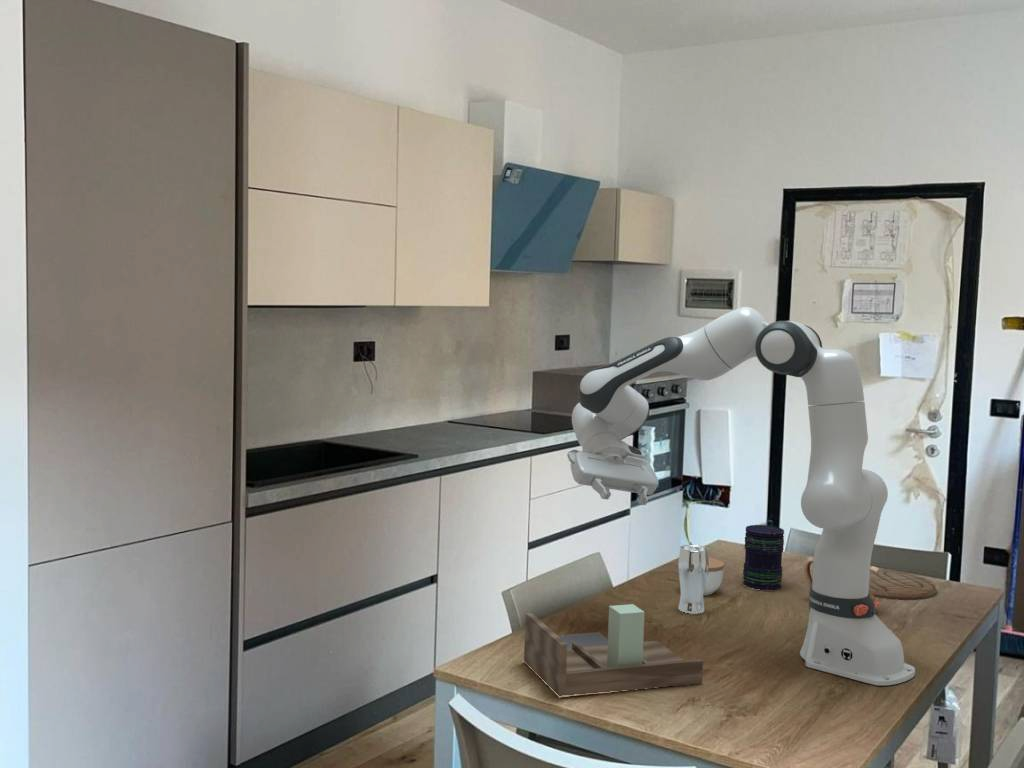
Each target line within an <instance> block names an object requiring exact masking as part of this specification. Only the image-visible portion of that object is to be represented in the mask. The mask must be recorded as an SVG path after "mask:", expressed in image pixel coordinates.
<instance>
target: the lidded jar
mask: <svg viewBox="0 0 1024 768" xmlns="http://www.w3.org/2000/svg"><path fill="white" fill-rule="evenodd" d="M708 559H709V565H708V575H707V580H706V585H705V589H704V595H703V596H709V595H708V594H712V593H713V594H714V592H716V591H717V590H718V589H719V587H720V586H721V584H722V581H723V577H724V569H725V562H723V561H722V560H720V559H716V558H712V557H708ZM713 594H712V595H713Z"/></svg>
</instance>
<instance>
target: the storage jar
mask: <svg viewBox="0 0 1024 768" xmlns="http://www.w3.org/2000/svg"><path fill="white" fill-rule="evenodd" d="M784 534H785V530H784V529H783V528H781V527H779V526H773V525H767V524H765V525H764V524H750V525H747V526H745V537H744V546H743V547H744V550H745V555H744V563H743V569H742V576H743V577H742V578H743V581H742V585H743V584H744V585H746V586H747V587H750V588H754V589H760V590H777V589H780V588H781V589H782V584H781V583H782V580H783V566H782V561H783V560H782V557H783V553H784V550H785V548H784V545H785V538H784V537H785V536H784ZM744 585H743V586H744ZM747 587H746V588H747ZM781 589H780V590H781ZM777 591H778V590H777Z"/></svg>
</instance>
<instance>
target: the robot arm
mask: <svg viewBox="0 0 1024 768" xmlns="http://www.w3.org/2000/svg"><path fill="white" fill-rule="evenodd" d="M752 358H757V360H758V362H759V363H760V365H762V366H763V367H765V368H766V369H767V370H768V371H771V372H772V373H775V374H779V375H785V376H790V377H795V378H801V379H802V381H803V383H804V385H805V390H806V395H807V396H806V398H807V399H806V400H807V406H808V407H807V408H808V417H809V419H808V420H809V421H808V422H809V429H810V430H809V431H810V432H809V433H810V456H809V465H808V473H807V481H806V486H805V487H804V491H802V495H801V498H800V509H801V511H802V514H803V516H804V517H805V519H806V520H807V522H809V523H810V524H811V525H812V526H814V527H817V528H820V529H822V531H821V535H820V538H819V540H818V542H817V544H816V546H815V548H814V552H813V557H814V562H813V563H812V565H813V566H812V587H811V588H810V587H809V593H808V594H809V596H808V608H809V616H808V623H807V627H806V633H805V638H804V640H803V643H802V646H801V649H800V651H799V656H800V657H801V658H802V659H804V661H805V663H804V664H805V667H807V668H810V669H813V670H818V671H822V672H825V673H827V674H828V673H829V674H832V675H836V676H839V677H843V678H848V679H851V680H855V681H859V682H863V683H866V684H870V685H872V686H873V685H874V686H892V685H898V684H900V683H904V682H906V681H909V680H912V679H913V678H914V677H915V675H916V668H915V666H913V665H911V664H909V663H906V662H905V655H904V648H903V645H902V644H903V643H902V642H901V640H900V639H899V638H898V637H897V635H896V634H894V633H893V631H891V629H890V628H888V626H887V625H886V624H885V623H884V622H883V621H882V620H881V619H880V618H879V617H878V616H877V615H876V613H877V612H876V608H879V607H881V605H880V603H881V601H880V600H878V601H874V603H873V601H872V599H871V596H870V594H869V593H868V591H869V577H870V566H871V561H872V553H873V549H874V546H875V545H874V544H875V540H876V538H877V533H878V529H879V525H880V521H881V516H882V512H883V509H884V507H885V505H886V503H887V500H888V494H889V493H888V486H887V485H886V483H885V481H884V479H883V478H882V477H881V476H880V475H879V474H877V473H876V472H874V471H872V470H868V469H865V468H863V465H864V463H863V462H864V456H865V451H866V447H867V444H868V442H869V433H868V424H867V415H866V414H867V413H866V404H865V394H864V389H863V382H862V378H861V374H860V370H859V366H858V364H857V361H856V358H855V356H853V355H852V354H851V353H850V352H848V351H846V350H843V349H839V348H830V349H828V348H823V343H822V339H821V338H820V335H819V334H818V333H817V332H816V330H814V329H813V328H812V327H810V326H809V325H806V324H803V323H801V322H799V321H795V320H778V321H774V322H772V323H768V321H767V320H766V318H765V317H764V315H762V313H760V312H759V311H758V310H756V309H755V308H753V307H749V306H742V307H738V308H735V309H733V310H731V311H729V312H727V313H725V314H723V315H721V316H718V317H717V318H716V319H714V320H711V321H710V322H708V323H707V324H705V325H703V326H702V327H700V328H699V329H696V330H695V331H692V332H689V333H687V334H683V335H678V336H669V337H664V338H661V339H658V340H657V341H655V342H652V343H650V344H649V345H645V346H644V347H641V348H640V349H638V350H636V351H634V352H632V353H630V354H628V355H626V356H623V357H622V358H620V359H618V360H616V361H614V362H611V363H608V364H606V365H605V364H604V365H601V366H598V367H595V368H593V369H591V370H589V371H588V372H586V373H585V374H584V375H583V376H582V377H581V379H580V381H579V384H578V388H577V397H578V403H577V404H576V405H575V406H574V407H573V409H572V414H571V425H572V429H573V433H574V435H575V438H576V440H577V442H578V444H579V446H581V447H582V450H577V449H571V450H570V451H568V452H567V455H566V456H567V458H568V461H569V462H570V471H571V475H572V478H573V480H574V481H575V483H577V484H578V485H583V486H589V487H591V488H592V490H594V491H595V492H596V493H598V494H599V496H600V499H602V500H609V499H610V497H611V496H612V493H611V491H610V490H614V491H622V492H628V493H635V494H637V495H638V497H637V498H636V501H637V503H638V505H641V506H646V505H647V504H648V502H649V498H648V496H652V495H653V494H654V493H655V491H656V490H657V488H658V487H659V478H658V477H657V474H656V472H655V470H654V468H653V467H652V465H651V464H650V462H649V461H647V460H646V454H645V452H644V451H643V450H642V449H640V448H637V447H634V446H632V445H630V444H628V443H626V442H625V441H624V439H626V438H627V437H629V436H631V435H633V434H635V433H636V432H637V431H638V430H640V429H641V428H642V427H643V426H644V425H645V424H646V422H647V419H648V418H649V412H650V406H649V402H648V400H647V398H646V397H645V396H644V395H642V394H641V393H639V391H637V390H636V389H635V388H634V387H631V386H630V385H632V384H634V383H635V382H638V381H640V380H642V379H644V378H646V377H648V376H651V375H652V374H654V373H660V372H666V373H667V372H670V373H674V374H678V375H682V376H686V377H687V378H691V379H694V380H698V381H711V380H714V379H717V378H719V377H723V376H724V375H726V374H727V373H729V372H730V371H731V370H733V369H735V368H736V367H737V366H739V365H741V364H742V363H744V362H746V361H748V360H750V359H752Z"/></svg>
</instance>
